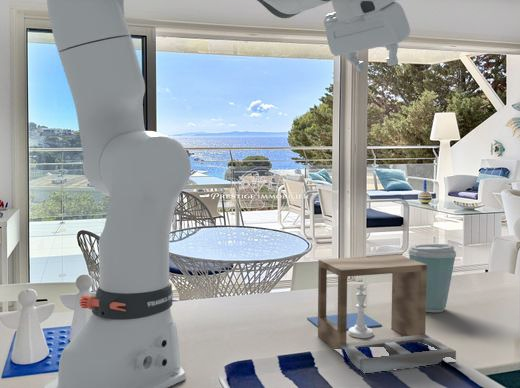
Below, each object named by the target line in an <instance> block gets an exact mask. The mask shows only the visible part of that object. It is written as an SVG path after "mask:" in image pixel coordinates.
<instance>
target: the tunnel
mask: <svg viewBox="0 0 520 388" xmlns="http://www.w3.org/2000/svg"><path fill="white" fill-rule="evenodd" d="M327 271H328V272H329V273H332V274H334V275H335V276H337V315H338V324H337V325H336V324H334V323H333V322H332V321H330V320H329V319H327V318H326V316H327V288H328V287H327V285H328V280H327V278H328V276H327V275H328V274H327ZM387 274H392V275H391V278H392V279H391V280H392V282H391V283H392V284H391V320H390V321H391V330H392V331H394V332H396V333H397V334H399V335H401V336H397V337H388V338H380V339H372V340H371V339H370V340H361V341H354V342H347V332H348V330H347V314H348V308H347V307H348V277H349V278H350V277H359V276H361V277H362V276H372V275H373V276H375V275H387ZM317 275H318V278H317V280H318V282H317V283H318V285H317V286H318V287H317V288H318V290H317V294H318V295H317V299H318V300H317V303H318V304H317V317H318V327H317V337H318V338H319V339H321V341H323V342H324V343H325V344H326V345H328V346H329V347H330V348H331V349H332V350H334V349H341V348H342V349H344V350H345V352H346V354H347V356H348V358H349V359H350V361H351V362H352V363H353V364H354V365H355V366H356V367H357V368H358V369H360V370H361V371H362V372H363V373H364V374H363V373H362V372H361V371H360V372H361V373H362V374H363V375H366V374H365V373H372V372H378V371H379V373H381V372H380V371H387V372H390V371H389V370H394V369H402V370H406V369H405V368H410V369H413V368H412V367H417V368H420V367H419V366H425V367H427V366H426V365H431V364H436V363H439V362H441V361H442V360H443V358H445V357H451V358H453V359H455V360H456V359H457V358H456V357H457V350H455V349H453V348H451V347H450V346H447V345H446V344H444V343H442V342H440V341H438V340H437V339H435V338H433V337H431V336H429V335H427V334H426V325H427V324H426V321H427V320H426V318H427V317H426V316H427V315H426V314H427V312H426V283H427V264H424V263H421V262H418V261H415V260H412V259H410V257H409V258H408V257H405V256H402V255H400V254H387V255H373V256H359V257H358V256H356V257H344V258H343V257H339V258H322V259H318V274H317ZM407 342H420V343H424V344H427V345H429V346H431V347H434V348H435V349H437V350H430V351H422V352H414V353H411V352H410V351H408V350H406V349H405V348H403V347H402V346H400V345H401V344H405V343H407ZM359 347H384V348H385V349H386V351H387V352H388V353H389V356H381V357H373V358H369V357H367V356H366V355H365V354H363V353H362V352H361V351H359V350H358V349H357V348H359ZM456 361H457V360H456ZM356 367H355V368H356ZM357 368H356V369H357ZM358 369H357V370H358ZM372 374H373V373H372Z"/></svg>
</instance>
